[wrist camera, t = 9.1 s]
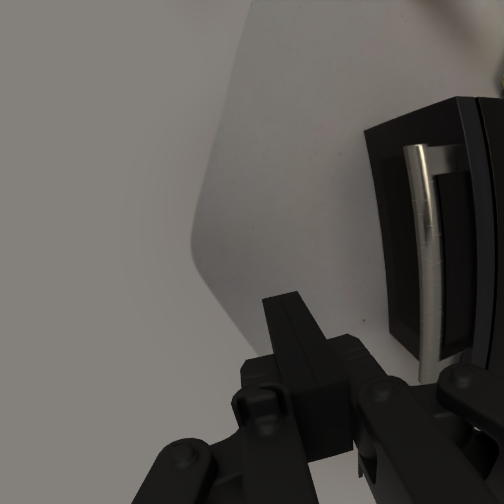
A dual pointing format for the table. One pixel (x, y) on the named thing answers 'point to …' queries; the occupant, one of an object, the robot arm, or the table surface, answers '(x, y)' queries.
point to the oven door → (436, 232)
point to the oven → (495, 220)
